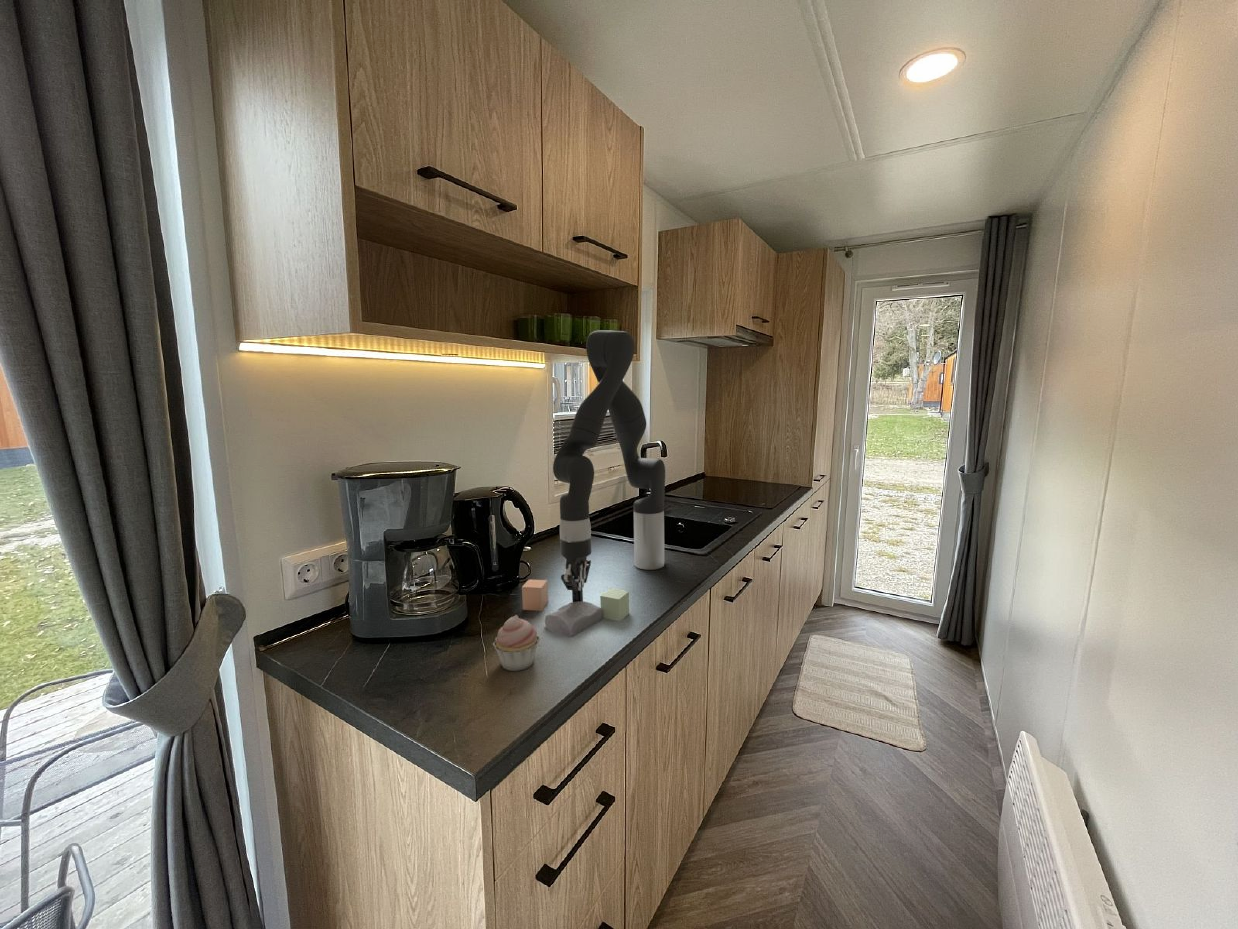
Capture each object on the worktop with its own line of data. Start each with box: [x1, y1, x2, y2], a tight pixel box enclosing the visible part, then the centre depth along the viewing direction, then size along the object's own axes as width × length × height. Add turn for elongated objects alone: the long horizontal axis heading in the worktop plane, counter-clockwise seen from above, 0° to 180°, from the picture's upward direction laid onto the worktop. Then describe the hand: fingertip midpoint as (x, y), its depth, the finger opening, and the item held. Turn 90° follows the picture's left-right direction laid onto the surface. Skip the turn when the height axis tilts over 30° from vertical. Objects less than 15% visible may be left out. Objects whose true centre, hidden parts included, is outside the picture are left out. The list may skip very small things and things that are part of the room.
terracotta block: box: [521, 579, 549, 612], centre depth 126 cm, size 5×5×6 cm
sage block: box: [599, 588, 630, 622], centre depth 120 cm, size 5×5×6 cm
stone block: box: [544, 600, 603, 638], centre depth 116 cm, size 12×5×10 cm
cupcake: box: [492, 614, 542, 672], centre depth 99 cm, size 9×9×10 cm
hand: (577, 603), depth 124 cm, fingers closed
